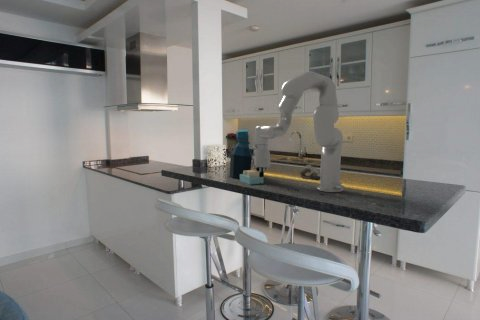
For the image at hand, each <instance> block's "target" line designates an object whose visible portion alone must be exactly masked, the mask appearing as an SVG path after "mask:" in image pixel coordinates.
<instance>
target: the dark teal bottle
mask: <svg viewBox="0 0 480 320" xmlns="http://www.w3.org/2000/svg"><path fill="white" fill-rule="evenodd" d="M235 136H236V137H235V138H236V140H237V143H236V145H234V147H233V149H232V151H231V153H230V161H229V162H230V163H229V177H231V178H233V179H239V180H240V174H242V175H243V171H247V170H252V159H253V155H252V152H251V149H250V144H251V142H250V140H249V139H250V138H249V130H246V129H240V130H237V131H236V135H235Z"/></svg>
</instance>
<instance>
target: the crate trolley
mask: <svg viewBox="0 0 480 320" xmlns="http://www.w3.org/2000/svg"><path fill="white" fill-rule="evenodd" d="M243 175H246V176H249V177H251V178H255V177H259V171H257V170H256V169H251V170H247V171H243Z"/></svg>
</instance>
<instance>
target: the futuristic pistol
mask: <svg viewBox="0 0 480 320" xmlns="http://www.w3.org/2000/svg"><path fill="white" fill-rule="evenodd" d="M306 173H307V174H308V173H309V175H306ZM320 173H321V170H319V169H318V168H316V167H314V166H313V165H312V164H306V165H305V167H304V169H303V170H301V171H299V174H300V177H301V178H302V179H306V180H309V179H311V180H314V181H319V180H320Z"/></svg>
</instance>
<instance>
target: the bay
mask: <svg viewBox="0 0 480 320" xmlns="http://www.w3.org/2000/svg"><path fill="white" fill-rule="evenodd" d="M264 177H265V176H264ZM264 177H255V178H251V177H249V176H246V175H242V174H240V179H239V182H242V183H244V184H247V185H259V184H260V183H261V184H264V182H265V181H264Z"/></svg>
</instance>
